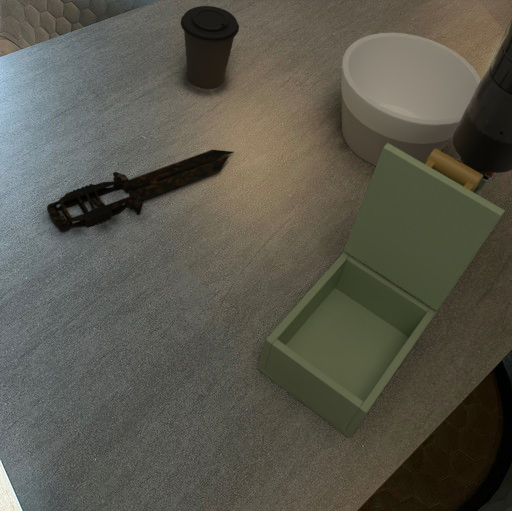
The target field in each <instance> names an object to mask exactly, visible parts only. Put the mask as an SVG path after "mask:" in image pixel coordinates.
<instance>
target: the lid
mask: <svg viewBox="0 0 512 511" xmlns="http://www.w3.org/2000/svg"><path fill="white" fill-rule="evenodd" d="M482 178H483V175H482V174H481V173H479V172H477V171H475V170H473V169H472V168H470V167H468V166H466V165H465V164H463V163H461V162H459V161H458V159H456V158H454V157H452V156H450V155H449V154H447V153H445V152H444V151H442V150H441V151H440V150H438V149H436V148H435V149H434V150H433V151H432V152H431V154H430V155H429V157H428V158H427V160H426V163H425V164H423V163H422V162H420V161H418V160H417V159H415V158H413V157H411V156H410V155H408V154H406V153H404V152H403V151H401V150H399V149H397V148H396V147H394V146H392V145H391V144H389V143H387V144H386V145H385V146H384V147H383V150H382V152H381V155H380V158H379V160H378V163H377V165H376V166H375V168H374V171H373V174H372V176H371V179H370V181H369V184H368V186H367V189H366V192H365V194H364V196H363V200H362V202H361V205H360V207H359V210H358V212H357V215H356V218H355V220H354V223H353V225H352V228H351V231H350V232H349V236H348V238H347V241H346V243H345V246H344V248H343V252H346V253H348V254H349V255H351V256H352V257H354V258H356V259H357V260H359V261H360V262H362V263H363V264H365V265H366V266H368V267H369V268H371V269H372V270H374V271H376V272H377V273H379V274H380V275H382V276H383V277H385V278H386V279H388V280H389V281H391V282H393V283H394V284H396V285H397V286H399V287H400V288H402V289H403V290H405V291H406V292H408V293H409V294H411V295H413V296H414V297H416V298H417V299H419V300H420V301H422V302H423V303H425V304H426V305H428V306H429V307H430V308H433V309H434V310H436V311H437V312H438V311H439V310H440V308H441V307H442V305H443V304H444V302H446V299H447V298H448V297H449V295H450V293H451V292H452V290H453V289H454V288H455V286H456V284H457V283H458V282H459V280H460V279H461V277H462V275H463V274H464V272H465V271H466V270H467V268H468V266H469V265H470V263H471V262H472V261H473V259H474V258H475V256H476V255H477V253H478V252H479V250H480V249H481V247H482V246H483V244H484V243H485V241H486V240H487V238H488V237H489V236H490V234H491V232H492V231H493V230H494V228H495V226H496V225H497V223H498V222H499V220H500V219H501V218H502V216H503V215H504V213H505V209H503V208H501V207H500V206H498V205H496V204H495V203H493V202H491V201H489V200H488V199H486V198H484V197H482V196H481V195H479V194H478V193H477V194H475V193H474V192H473V191H474V190H475V188H476V187H477V186H478V184H479V183H480V181H481V179H482Z"/></svg>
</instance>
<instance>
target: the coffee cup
mask: <svg viewBox="0 0 512 511" xmlns="http://www.w3.org/2000/svg"><path fill="white" fill-rule="evenodd" d="M180 26H181V29H182V30H183V34H184V47H185V58H186V59H185V60H186V72H187V78H188V81H189V82H190V84H192V85H193V86H195V87H196V88H199V89H205V90H209V89H210V90H211V89H215V88H218V87H220V86H221V85H222V84H223V83H224V80H225V76H226V71H227V68H228V63H229V60H230V56H231V52H232V48H233V43H234V39H235V37H236V35H237V34H238V33H239V31H240V24H239V22H238V20H237V18H236V17H235V16H234V15H233V14H232V13H231V12H229V11H228V10H226V9H224V8H221V7H218V6H213V5H212V6H211V5H199V6H194V7H192V8H189V9H188V10H186V11H185V13H184V14H183V16H182V17H181V18H180Z"/></svg>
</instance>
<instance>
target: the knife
mask: <svg viewBox="0 0 512 511" xmlns="http://www.w3.org/2000/svg"><path fill="white" fill-rule="evenodd" d="M233 153H235V151H231V150H230V151H229V150H221V149H210V150H207V151H204V152H201V153H199V154H195V155H193V156H190V157H188V158H185V159H182V160H178V161H176V162H173V163H171V164H167V165H166V166H163V167H162V166H161V167H159V168H157V169H154V170H152V171H149V172H146V173H143V174H140V175H137V176H135V177H132V178H130V179H129V178H128V177H127V174H124V173H121V172H117V171H114V172H112V176H113V180H111V181H102V182H99V183H96V184H94V183H93V184H92V183H90V184H89V185H88V184H86V185H85V186H81V187H78V188H76V189H73V190H71V191H69V192H66V193H65V194H64V195H63V196H62V197H60V198H59V199H58V200H56V201H55V202H54V201H53V202H51V203H49V204H47V206H46V211H47V213H48V216H49V218H50V220H51V221H52V223H53V225H54V226H55V227H56V228H57V229H58V230H59V231H60V232H65V231H69V230H70V229H73V228H79V227H86V228H90V227H94V226H95V225H96V226H97V225H99V224H102V223H103V222H107V221H110V220H112V219H111V218H112V217H113V216H116V215H118V214H120V213H122V212H123V211H124V210H125V209H126V208H129V209H130V210H132V209H133V211H134V212H135V214H136V215H138V216H139V215H140V214H141V212H142V209H143V200H146V199H149V198H151V197H154V196H156V195H157V196H158V195H159V194H162V193H165V192H167V191H170V190H173V189H175V188H178V187H180V186H184V185H186V184H188V183H191V182H194V181H196V180H199V179H202V178H204V177H207V176H209V175H211V174H214V173H217V172H220V171H221V170H222V168H223V167H224V165H225V164H226V162H227V161H228V159H229V158H230V155H231V154H233ZM111 186H112V187H111ZM121 189H122V190H124V191H125V193H128V196H127V197H124V198H121V199H118V200H116V201H113V202H110V203H108V204H105V202H103V201H102V199H101V196H103V195H106V194H110V193H112V192H115V191H118V190H121ZM85 202H88V204H89V206H90V207H91V209H90V210H89V209H88V207H87V206H86V205H85ZM77 205H78V207H79V208H80V210H81V211H82V213H81V214H78V215H75V216H73V217H72V215H71V213H70V212H69V211H68V208H71V207H73V206H77ZM95 206H96V207H95ZM60 211H61V212H62V214H63V215H61V213H60ZM73 222H74V223H73Z"/></svg>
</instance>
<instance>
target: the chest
mask: <svg viewBox="0 0 512 511" xmlns="http://www.w3.org/2000/svg"><path fill="white" fill-rule="evenodd" d="M437 313H438V311H437V310H435V309H433V308H432V307H430V306H429V305H427V304H426V303H424V302H423V301H421V300H420V299H418V298H416V297H415V296H413V295H412V294H410V293H409V292H407V291H406V290H404V289H403V288H401V287H400V286H398V285H396V284H395V283H393V282H392V281H390V280H389V279H387V278H386V277H384V276H383V275H381V274H379V273H378V272H376V271H375V270H373V269H372V268H370V267H369V266H367V265H366V264H364V263H363V262H361V261H359V260H358V259H356V258H355V257H353V256H352V255H350V254H349V253H347V252H346V251H343V252H342V253H341V255H339V256H338V258H337V259H336V260H335V261H334V262H333V263H332V264H331V266H330V267H329V268H328V269H327V270H326V271H325V272H324V273H323V274H322V275H321V277H320V278H319V279H318V280H317V281H316V282H315V283H314V284H313V286H311V288H310V289H309V290H308V291H307V292H306V293H305V294H304V296H303V297H302V298H301V299H300V300H299V302H298V303H296V305H295V306H294V307H293V308H292V309H291V310H290V312H289V313H288V314H287V315H286V316H285V317H284V319H282V321H280V322H279V324H278V325H277V326H276V327H275V328H274V330H273V331H272V332H271V333H270V334H269V335H268V336H267V337H266V339H265V341H264V345H263V347H262V352H261V354H260V359H259V362H258V366H257V370H258V371H259V372H260V373H262V374H263V375H264V376H265V377H267V378H268V379H270V380H271V381H272V382H274V384H276V385H277V386H279V387H280V388H282V389H283V390H284V391H286V392H287V393H289V394H290V395H291V396H293V397H294V398H295V399H296V400H298V401H299V402H301V403H302V404H303V405H304V406H305V407H307V408H309V409H310V410H311V411H312V412H314V413H315V414H316V415H318V416H319V417H320V418H322V419H323V420H325V421H326V422H327V423H328V424H329V425H331V426H333V427H334V428H335V429H336V430H338V431H340V432H341V433H342V435H343V434H344V435H345V436H346V437H347V438H348V439H351V438H352V436H353V435H354V434H355V432H356V431H357V429H358V428H359V426H360V425H361V424H362V422H363V421H364V419H365V417H366V416H367V415H368V413H369V412H370V410H371V409H372V408H373V406H374V405H375V403H376V402H377V400H378V399H379V397H380V396H381V395H382V393H383V392H384V390H385V389H386V387H387V386H388V385H389V383H390V381H391V380H392V378H393V377H394V376H395V374H396V372H397V371H398V370H399V369H400V367H401V365H402V364H403V362H404V361H405V360H406V358H407V356H408V355H409V354H410V352H411V351H412V349H413V348H414V346H415V345H416V343H417V342H418V341H419V339H420V338H421V336H422V335H423V333H424V332H425V331H426V329H427V327H428V326H429V324H430V323H431V322H432V320H433V318H434V317H435V315H436V314H437Z"/></svg>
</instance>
